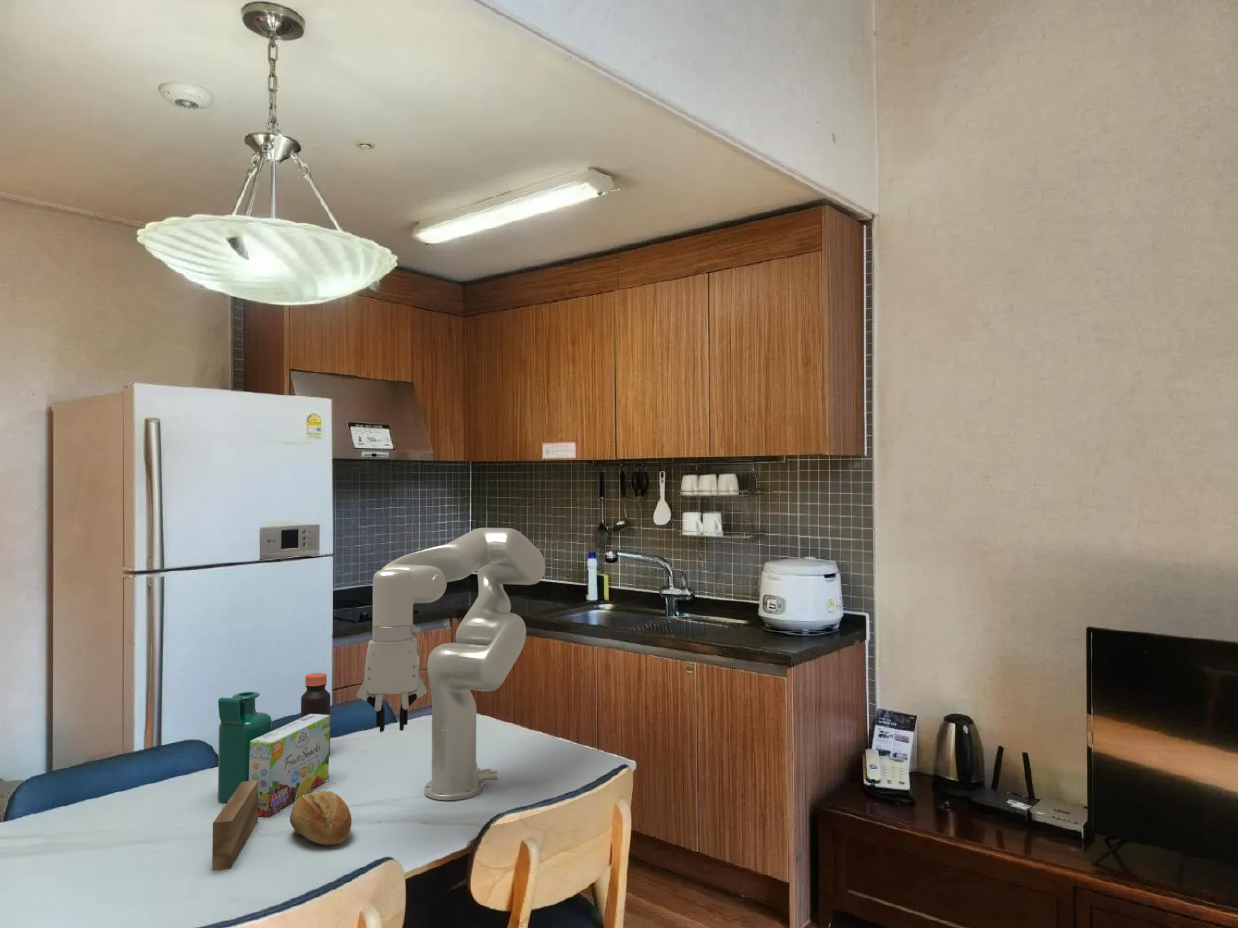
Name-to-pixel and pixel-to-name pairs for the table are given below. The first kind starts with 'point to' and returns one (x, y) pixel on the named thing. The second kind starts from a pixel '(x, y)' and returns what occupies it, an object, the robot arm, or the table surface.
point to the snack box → (290, 762)
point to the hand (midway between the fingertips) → (392, 728)
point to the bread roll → (321, 817)
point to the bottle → (316, 696)
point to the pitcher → (237, 740)
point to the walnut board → (234, 825)
